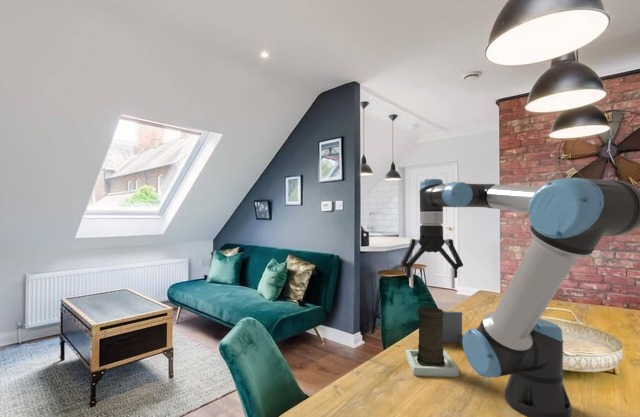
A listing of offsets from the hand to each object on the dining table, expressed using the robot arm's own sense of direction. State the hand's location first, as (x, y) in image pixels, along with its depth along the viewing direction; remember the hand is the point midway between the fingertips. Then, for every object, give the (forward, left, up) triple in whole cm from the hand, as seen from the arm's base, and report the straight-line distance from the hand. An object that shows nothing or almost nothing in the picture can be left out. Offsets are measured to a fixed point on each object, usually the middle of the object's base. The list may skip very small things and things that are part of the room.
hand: (431, 287), depth 114 cm
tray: (0, +1, -27) cm, 27 cm away
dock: (+15, -9, -27) cm, 32 cm away
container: (0, 0, -26) cm, 26 cm away
